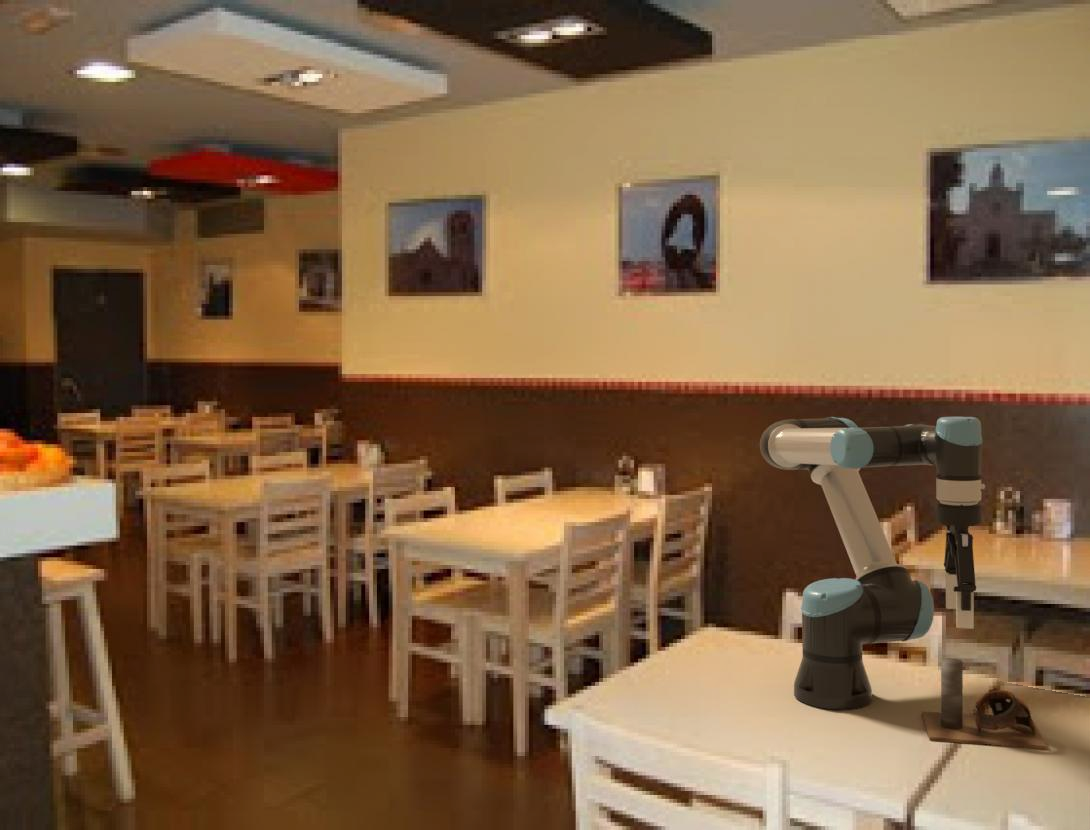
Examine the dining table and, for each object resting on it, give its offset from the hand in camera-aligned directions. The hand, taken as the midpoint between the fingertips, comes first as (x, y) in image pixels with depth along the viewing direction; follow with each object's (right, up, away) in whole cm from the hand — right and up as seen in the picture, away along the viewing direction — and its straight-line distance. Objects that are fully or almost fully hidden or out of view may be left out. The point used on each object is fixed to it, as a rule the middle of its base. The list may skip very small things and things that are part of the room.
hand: (959, 617), depth 176 cm
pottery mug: (+8, -20, -1) cm, 22 cm away
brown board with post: (+4, -21, 0) cm, 21 cm away
